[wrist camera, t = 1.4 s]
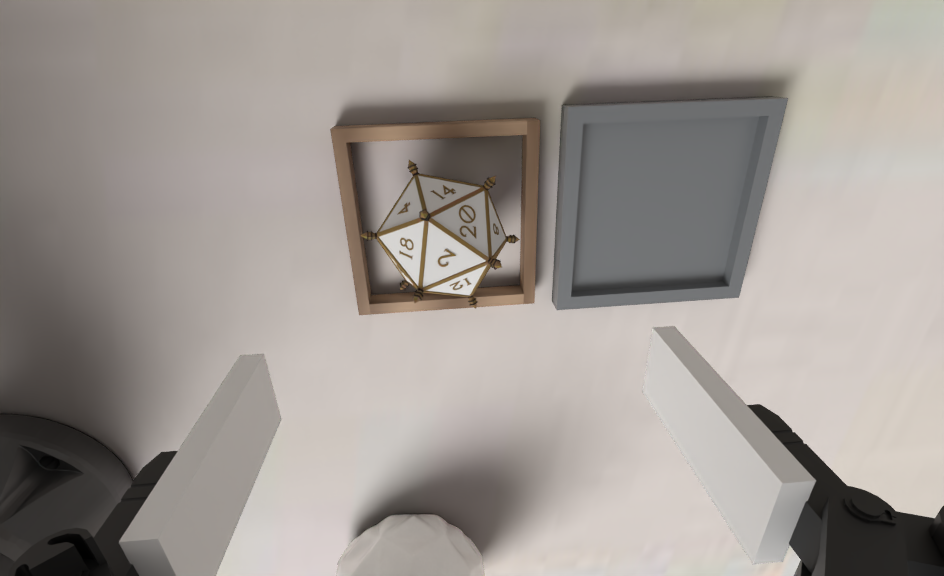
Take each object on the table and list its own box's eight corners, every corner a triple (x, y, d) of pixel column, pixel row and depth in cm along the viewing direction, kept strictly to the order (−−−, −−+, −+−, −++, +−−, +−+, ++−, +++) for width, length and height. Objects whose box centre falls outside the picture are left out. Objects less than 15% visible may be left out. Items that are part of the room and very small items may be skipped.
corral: (361, 305, 35) (359, 315, 33) (334, 126, 29) (330, 129, 28) (530, 294, 35) (534, 303, 34) (535, 117, 30) (540, 120, 28)
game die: (420, 185, 35) (369, 117, 25) (532, 207, 33) (524, 144, 23) (388, 301, 34) (322, 278, 24) (501, 330, 32) (480, 317, 22)
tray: (551, 300, 36) (556, 310, 34) (561, 105, 30) (568, 107, 28) (727, 288, 37) (739, 297, 35) (772, 96, 31) (788, 98, 29)
